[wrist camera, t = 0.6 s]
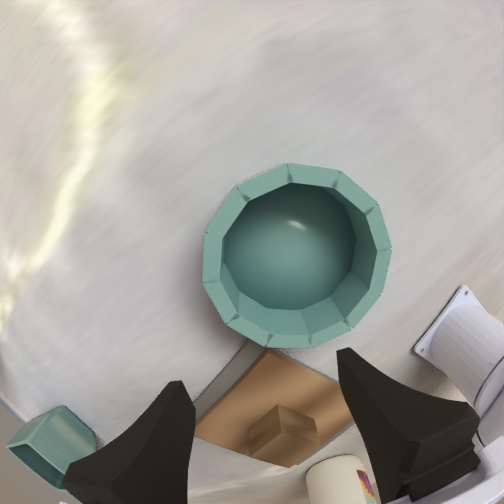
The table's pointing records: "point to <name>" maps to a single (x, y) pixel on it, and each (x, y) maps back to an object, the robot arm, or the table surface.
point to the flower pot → (52, 444)
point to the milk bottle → (339, 482)
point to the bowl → (295, 256)
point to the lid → (276, 412)
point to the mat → (233, 373)
